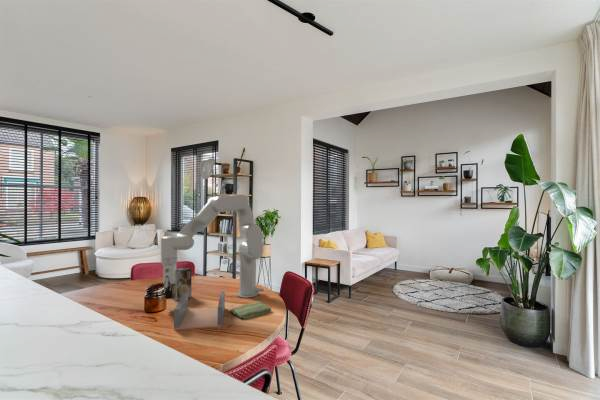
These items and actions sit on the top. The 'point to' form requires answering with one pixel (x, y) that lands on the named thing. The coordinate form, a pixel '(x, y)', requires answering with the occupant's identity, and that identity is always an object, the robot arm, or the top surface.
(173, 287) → the walnut block
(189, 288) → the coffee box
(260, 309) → the washcloth
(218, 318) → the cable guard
